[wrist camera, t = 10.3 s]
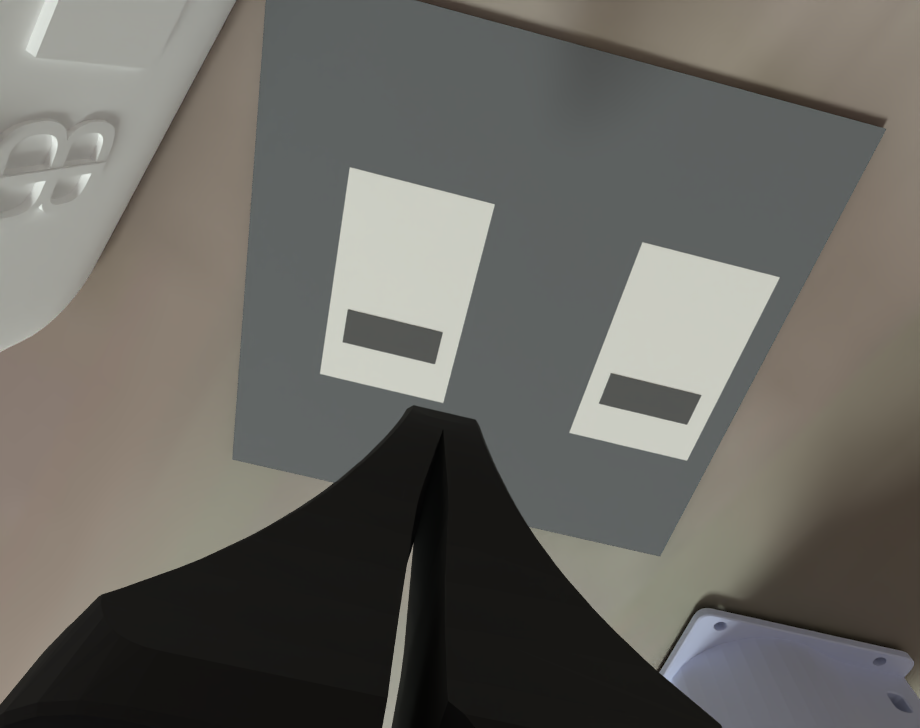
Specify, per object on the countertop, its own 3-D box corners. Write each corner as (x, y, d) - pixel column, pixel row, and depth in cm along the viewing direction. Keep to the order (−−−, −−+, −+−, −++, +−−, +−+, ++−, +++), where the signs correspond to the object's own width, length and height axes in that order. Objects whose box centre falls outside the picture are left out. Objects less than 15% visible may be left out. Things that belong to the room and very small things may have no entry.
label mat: (882, 128, 15) (887, 129, 15) (658, 552, 22) (660, 556, 22) (271, -39, 15) (268, -41, 14) (234, 456, 21) (231, 459, 21)
